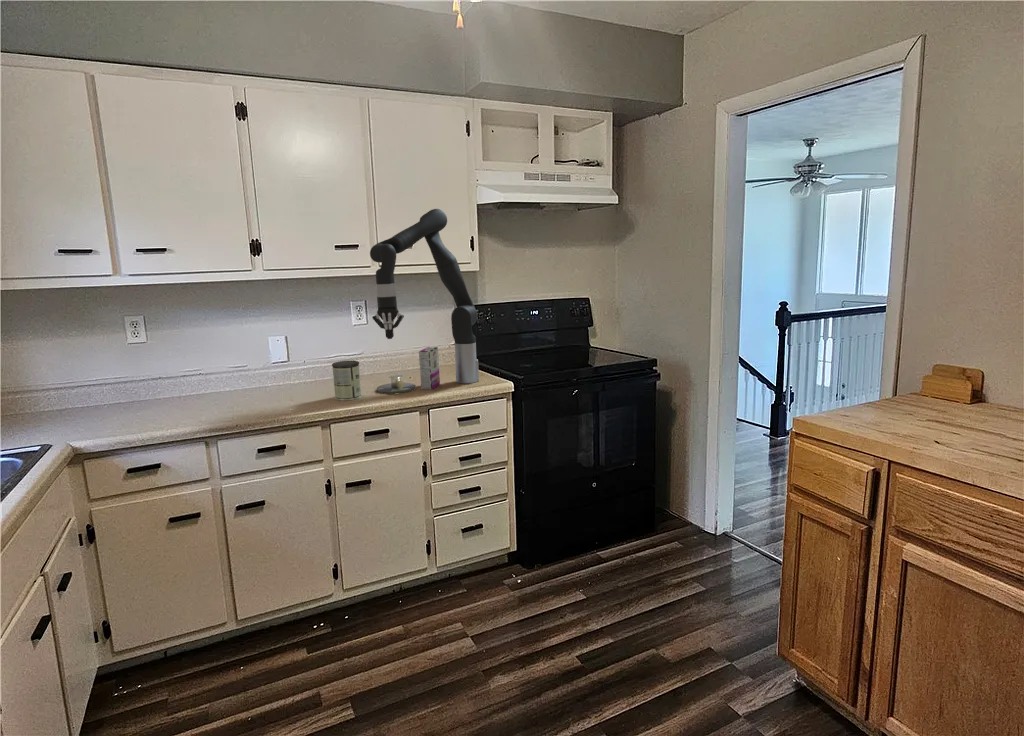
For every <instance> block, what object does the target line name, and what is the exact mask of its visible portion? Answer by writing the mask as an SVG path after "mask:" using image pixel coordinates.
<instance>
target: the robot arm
mask: <svg viewBox="0 0 1024 736" xmlns="http://www.w3.org/2000/svg"><path fill="white" fill-rule="evenodd" d="M447 224H448V217H447V214H446V213H445V212H444V211H443V210H442V209H439V208H433V209H430V210H429V211H427V212H426V213H424V214H423V215H422V216H420V217H419V221H418V222H416V223H415V224H413V225H410V226H409V227H407V228H404V229H402V230H401V231H400V232H397V233H396V234H395V235H392V237H390V238H387V239H384V240H383V241H380V242H378V243H375V244H374V245H373V246H372V247H371V248H370V251H369V256H370V258H371V260H372V261H373V262H375V263H381V265H380V268H378V269H377V270H376V271H375V281H376V282H375V283H376V287H375V288H376V300H377V301H376V302H377V311H376V314H375V315H373V316H372V320H373V321H374V322H375V323H376V324H377V325H378V327H379V328H380V329H384V331H385V338H387V340H392V339H393V338H394V335H395V333H394V329H396V328H398V327H399V326H400V324H401V322H402V321H403V319H404V317H405V315H404V314H401V313H400V312H399V311H400V310H399V309H398V302H397V301H398V300H397V291H396V290H397V289H396V285H395V269H396V263H397V255H398V254H401V253H402V252H405V251H406V250H407V249H409V248H411V247H413V245H415V244H416V243H417V242H419V241H420V240H422V239H423V238H424V240H425V241H426V243H427V246H428V247H429V250H430V252H431V255H432V258H433V260H434V263H435V265H436V269H437V272H438V276H439V277H440V280H441V283H443V285H444V287H445V288H446V289H447V291H448V292H449V293H450V294H451V296H452V298H453V300H454V303H455V308H454V309H453V310H452V311H451V317H450V319H451V330H452V333H451V334H452V337H453V341H454V361H455V381H456V382H455V383H458V384H473V383H476V382H480V376H479V375H480V374H479V359H477V343H476V342H477V337H476V335H474V333H473V329H472V328H473V325H474V324H475V323H477V321H478V311H477V309H476V307H475V305H474V303H473V301H472V298H471V297H470V293H469V291H468V289H467V285H466V282H465V281H464V280H465V279H464V277H463V273H462V271H461V268H460V265H459V263H458V260H457V258H456V256H455V255H454V254H453V252H451V251H450V250H449V249H448V248H447V247H446V246H445V244H444V243H443V241H442V238H441V236H440V232H441V231H442V230H443V229H445V227H446V226H447ZM396 318H397V319H396ZM395 319H396V321H395Z"/></svg>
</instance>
